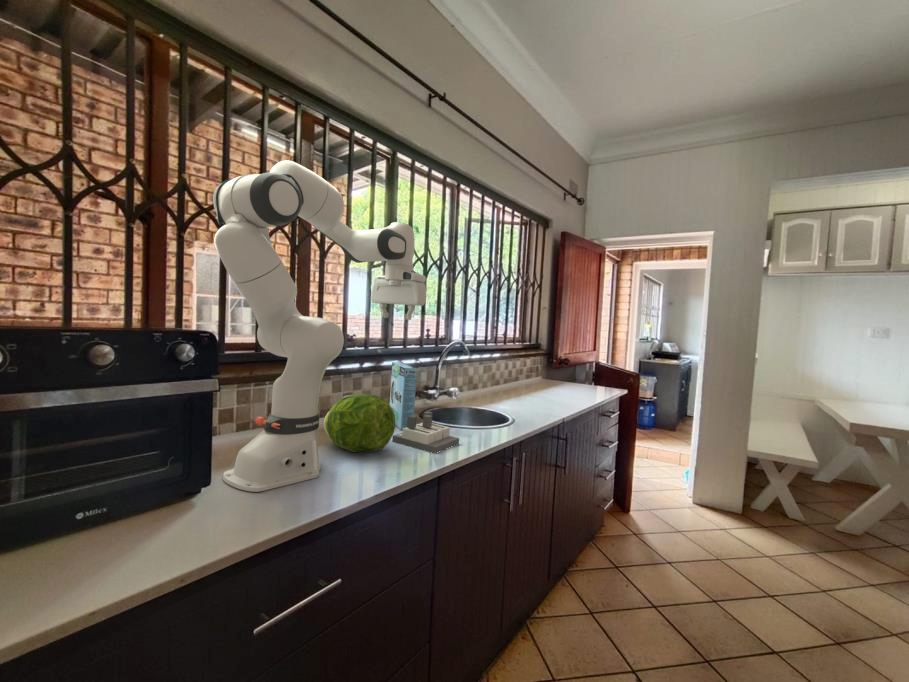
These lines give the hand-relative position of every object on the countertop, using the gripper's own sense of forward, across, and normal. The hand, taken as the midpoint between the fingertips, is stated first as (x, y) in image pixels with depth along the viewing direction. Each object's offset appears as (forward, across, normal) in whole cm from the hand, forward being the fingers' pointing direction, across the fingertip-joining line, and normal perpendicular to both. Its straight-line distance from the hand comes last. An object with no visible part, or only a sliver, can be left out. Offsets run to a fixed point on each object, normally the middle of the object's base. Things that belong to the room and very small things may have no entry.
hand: (396, 318), depth 130 cm
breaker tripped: (+35, +10, +7) cm, 37 cm away
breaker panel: (+40, +10, +7) cm, 42 cm away
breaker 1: (+35, +7, +3) cm, 36 cm away
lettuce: (+40, -2, -14) cm, 42 cm away
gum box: (+41, -12, +20) cm, 47 cm away
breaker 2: (+35, +7, +12) cm, 38 cm away
